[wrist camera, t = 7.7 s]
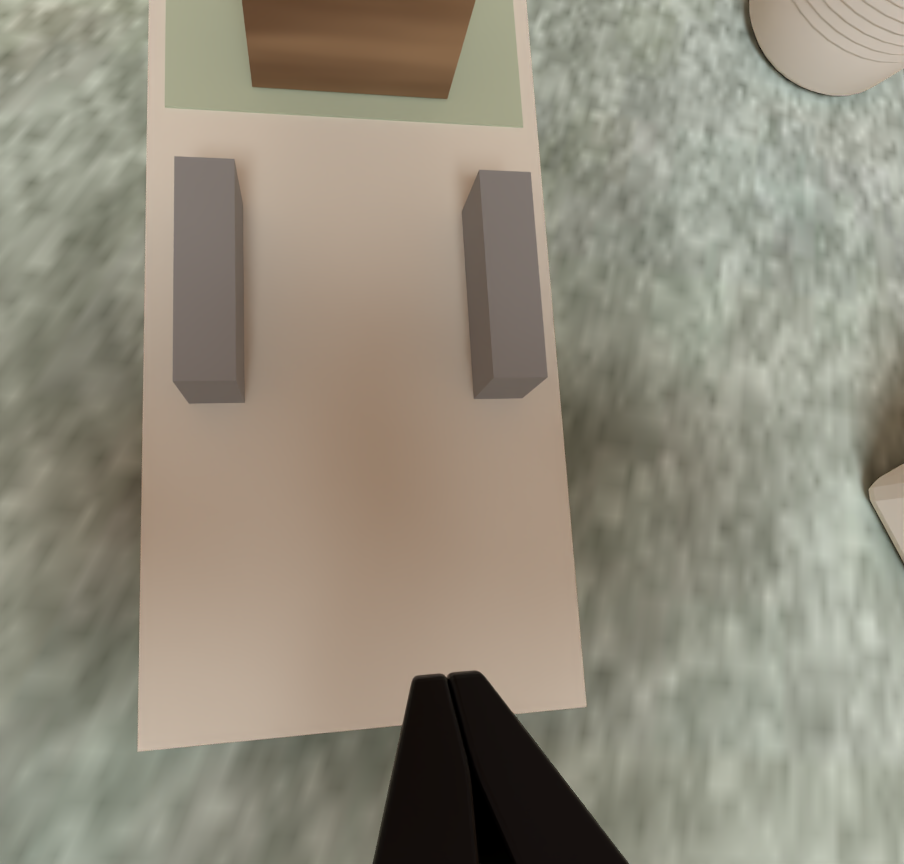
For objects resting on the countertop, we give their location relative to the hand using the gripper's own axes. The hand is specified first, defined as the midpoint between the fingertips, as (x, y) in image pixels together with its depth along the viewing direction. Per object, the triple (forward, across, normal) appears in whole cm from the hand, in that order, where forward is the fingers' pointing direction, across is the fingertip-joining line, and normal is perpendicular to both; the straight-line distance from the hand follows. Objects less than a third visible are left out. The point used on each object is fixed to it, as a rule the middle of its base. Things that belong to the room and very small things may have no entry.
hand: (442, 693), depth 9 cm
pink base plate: (+16, 0, +2) cm, 16 cm away
